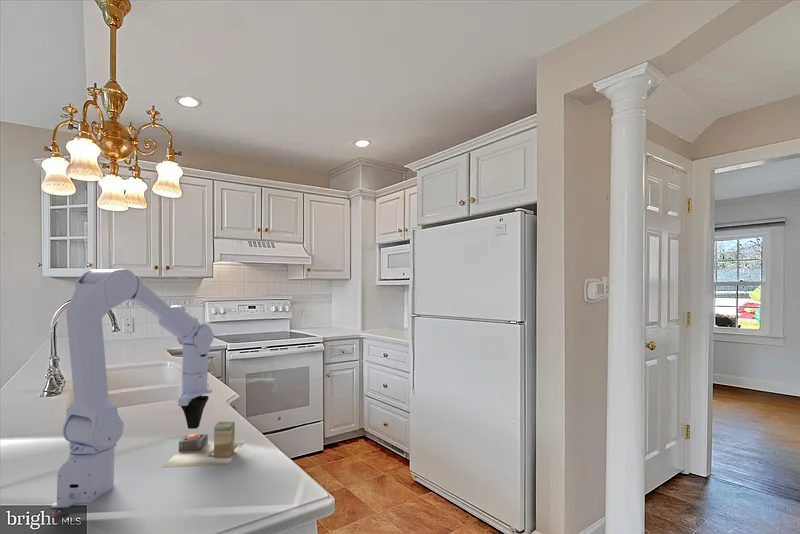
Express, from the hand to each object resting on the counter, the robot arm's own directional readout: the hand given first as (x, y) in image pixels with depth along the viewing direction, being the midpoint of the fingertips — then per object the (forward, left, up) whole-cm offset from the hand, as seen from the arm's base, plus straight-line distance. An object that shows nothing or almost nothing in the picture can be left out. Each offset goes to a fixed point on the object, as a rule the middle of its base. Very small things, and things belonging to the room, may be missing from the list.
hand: (193, 427), depth 108 cm
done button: (0, 0, -4) cm, 4 cm away
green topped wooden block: (-5, -9, -5) cm, 12 cm away
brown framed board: (-4, -5, -5) cm, 8 cm away
